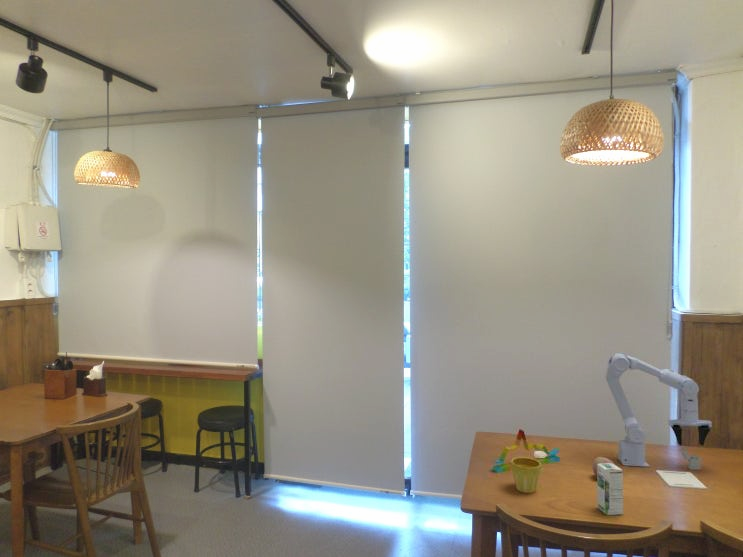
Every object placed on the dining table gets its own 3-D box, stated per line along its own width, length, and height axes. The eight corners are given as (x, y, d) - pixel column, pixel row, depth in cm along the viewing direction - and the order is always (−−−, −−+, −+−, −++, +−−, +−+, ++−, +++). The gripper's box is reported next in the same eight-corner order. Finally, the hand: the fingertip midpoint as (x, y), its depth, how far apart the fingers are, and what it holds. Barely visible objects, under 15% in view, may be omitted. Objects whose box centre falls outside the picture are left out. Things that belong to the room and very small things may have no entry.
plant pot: (541, 485, 179) (541, 458, 179) (541, 497, 169) (541, 469, 169) (512, 481, 182) (511, 455, 182) (510, 493, 172) (509, 465, 172)
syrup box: (596, 507, 161) (595, 463, 161) (613, 506, 161) (613, 462, 161) (606, 515, 155) (605, 470, 155) (624, 514, 156) (623, 469, 156)
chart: (554, 459, 204) (553, 423, 204) (559, 461, 201) (559, 425, 201) (492, 470, 194) (492, 432, 194) (497, 473, 191) (496, 435, 191)
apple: (618, 484, 178) (617, 462, 178) (595, 482, 180) (595, 461, 180) (612, 475, 186) (611, 454, 186) (590, 474, 187) (590, 453, 187)
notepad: (669, 486, 175) (669, 485, 175) (655, 471, 189) (655, 470, 189) (706, 489, 173) (706, 487, 173) (690, 473, 186) (690, 472, 186)
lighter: (698, 468, 192) (698, 447, 192) (701, 469, 190) (701, 449, 190) (680, 468, 192) (679, 447, 192) (683, 470, 190) (682, 449, 190)
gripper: (672, 412, 188) (674, 447, 188) (715, 412, 185) (716, 448, 185) (665, 407, 195) (667, 441, 195) (706, 407, 192) (707, 442, 192)
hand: (690, 444), depth 191 cm, fingers open, 7 cm apart
